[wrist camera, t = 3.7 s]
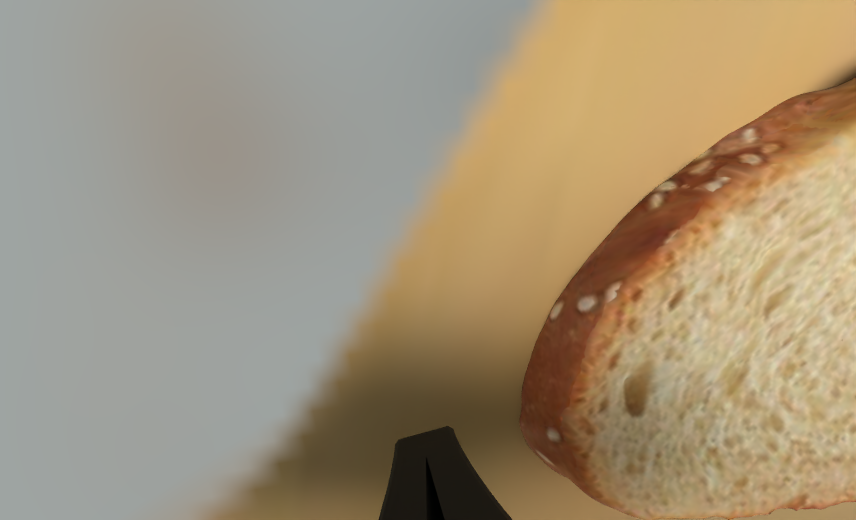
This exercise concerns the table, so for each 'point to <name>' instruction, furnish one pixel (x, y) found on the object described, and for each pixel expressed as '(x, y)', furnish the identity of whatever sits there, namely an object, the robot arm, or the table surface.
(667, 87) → the table surface
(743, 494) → the bread slice
